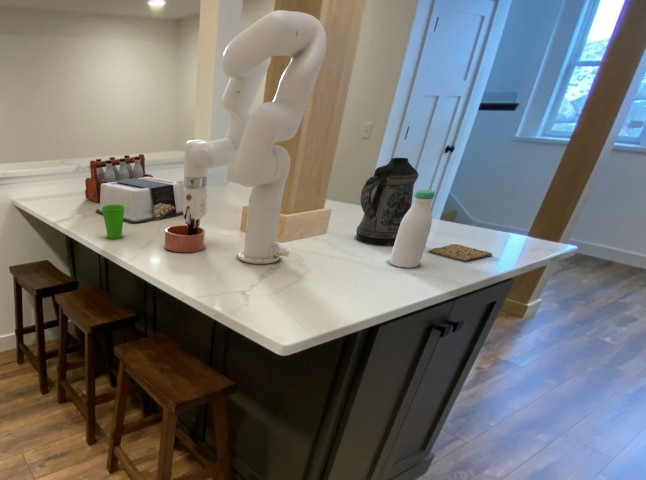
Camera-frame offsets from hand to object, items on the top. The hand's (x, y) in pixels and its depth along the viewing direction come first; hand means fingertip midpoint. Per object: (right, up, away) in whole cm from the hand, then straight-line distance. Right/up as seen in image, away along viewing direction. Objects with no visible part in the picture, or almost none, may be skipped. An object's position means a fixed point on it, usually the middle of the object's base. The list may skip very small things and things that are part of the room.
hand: (193, 238), depth 158 cm
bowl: (-4, -4, -3) cm, 6 cm away
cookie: (+79, -12, -21) cm, 83 cm away
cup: (-28, +4, +12) cm, 31 cm away
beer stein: (+63, -3, -6) cm, 63 cm away
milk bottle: (+58, -17, -27) cm, 67 cm away
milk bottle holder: (-28, +48, +79) cm, 97 cm away
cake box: (-17, +28, +47) cm, 57 cm away
